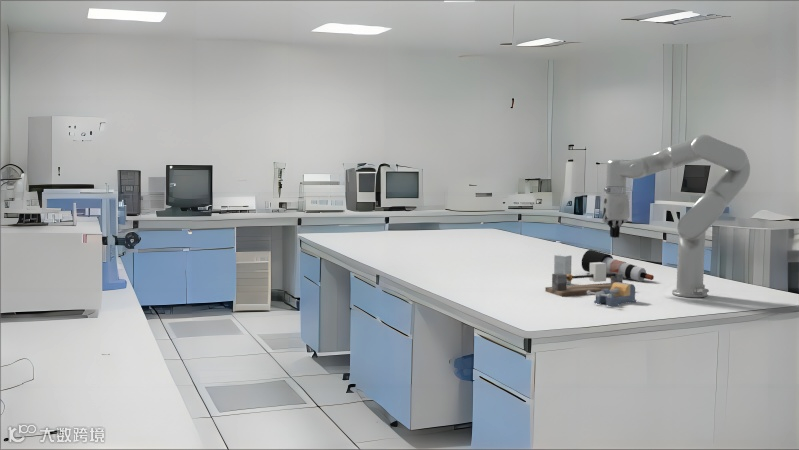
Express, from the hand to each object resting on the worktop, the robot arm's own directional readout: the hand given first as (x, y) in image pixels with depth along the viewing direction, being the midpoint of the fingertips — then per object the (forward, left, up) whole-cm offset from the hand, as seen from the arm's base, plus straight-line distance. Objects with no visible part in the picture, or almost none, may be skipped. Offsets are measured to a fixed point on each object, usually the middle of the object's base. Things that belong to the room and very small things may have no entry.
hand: (614, 237), depth 308 cm
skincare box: (+19, +11, -21) cm, 31 cm away
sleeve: (0, +7, -17) cm, 19 cm away
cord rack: (0, +12, -21) cm, 25 cm away
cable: (+24, -20, -22) cm, 38 cm away
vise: (-23, +17, -22) cm, 36 cm away
